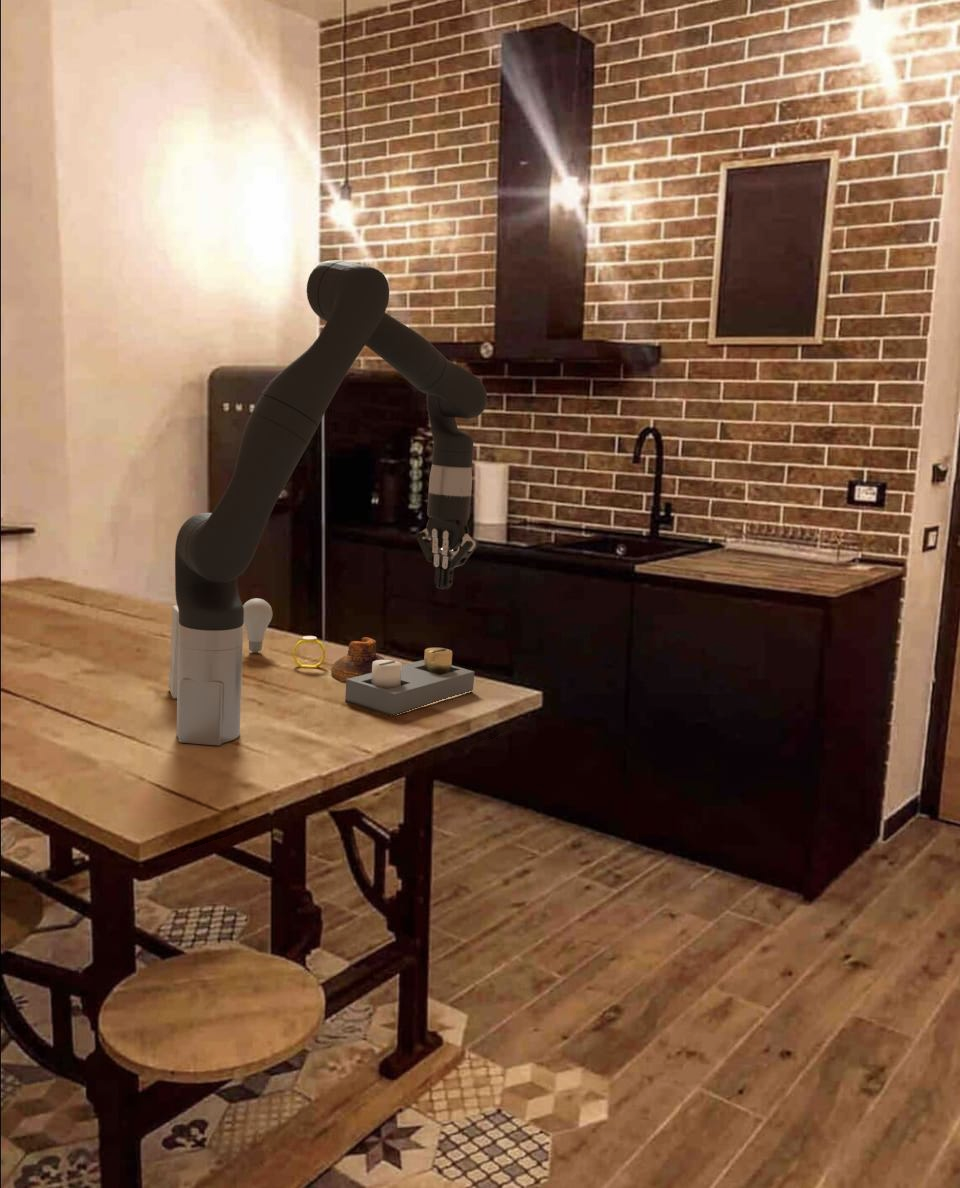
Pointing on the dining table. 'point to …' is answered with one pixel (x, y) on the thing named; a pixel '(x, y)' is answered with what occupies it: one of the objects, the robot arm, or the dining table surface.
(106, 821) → the dining table surface
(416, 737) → the dining table surface
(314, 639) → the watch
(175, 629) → the skincare box
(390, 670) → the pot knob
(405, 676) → the knob mount
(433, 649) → the brass knob
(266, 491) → the robot arm
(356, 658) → the broken clay vessel
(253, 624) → the lightbulb
